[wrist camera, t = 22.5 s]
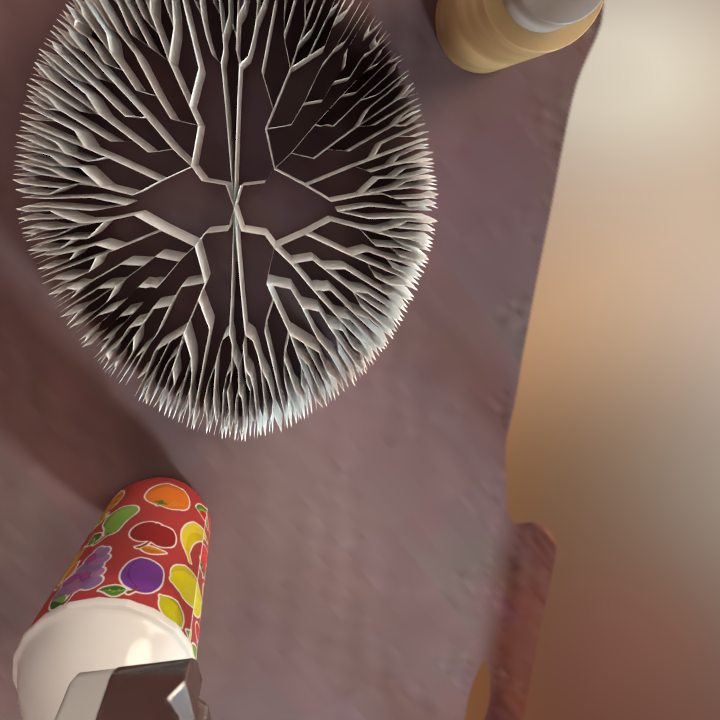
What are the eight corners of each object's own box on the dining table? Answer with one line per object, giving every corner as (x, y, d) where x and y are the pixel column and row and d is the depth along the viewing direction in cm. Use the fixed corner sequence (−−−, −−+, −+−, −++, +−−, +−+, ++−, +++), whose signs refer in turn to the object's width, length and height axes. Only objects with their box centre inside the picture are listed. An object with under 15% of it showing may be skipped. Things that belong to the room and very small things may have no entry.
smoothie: (143, 581, 44) (31, 909, 25) (73, 492, 41) (-111, 786, 22) (247, 531, 44) (212, 827, 25) (183, 437, 41) (89, 690, 22)
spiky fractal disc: (448, -63, 33) (461, -80, 30) (412, 421, 42) (420, 440, 39) (-3, -99, 30) (-31, -122, 28) (63, 424, 40) (47, 444, 37)
